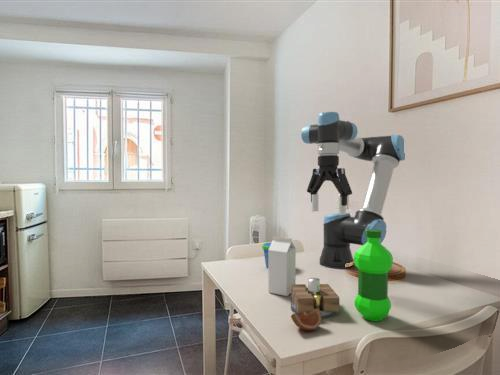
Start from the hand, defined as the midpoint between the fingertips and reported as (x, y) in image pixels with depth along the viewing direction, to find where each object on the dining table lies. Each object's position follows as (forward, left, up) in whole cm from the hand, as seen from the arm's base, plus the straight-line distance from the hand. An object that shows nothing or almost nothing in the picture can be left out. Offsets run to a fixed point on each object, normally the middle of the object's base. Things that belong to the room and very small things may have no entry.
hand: (328, 213), depth 124 cm
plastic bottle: (+10, +28, -27) cm, 40 cm away
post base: (+20, +14, -27) cm, 36 cm away
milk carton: (+19, -3, -27) cm, 33 cm away
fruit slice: (+31, +22, -27) cm, 47 cm away
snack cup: (+3, -29, -27) cm, 40 cm away
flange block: (+20, +14, -25) cm, 35 cm away
